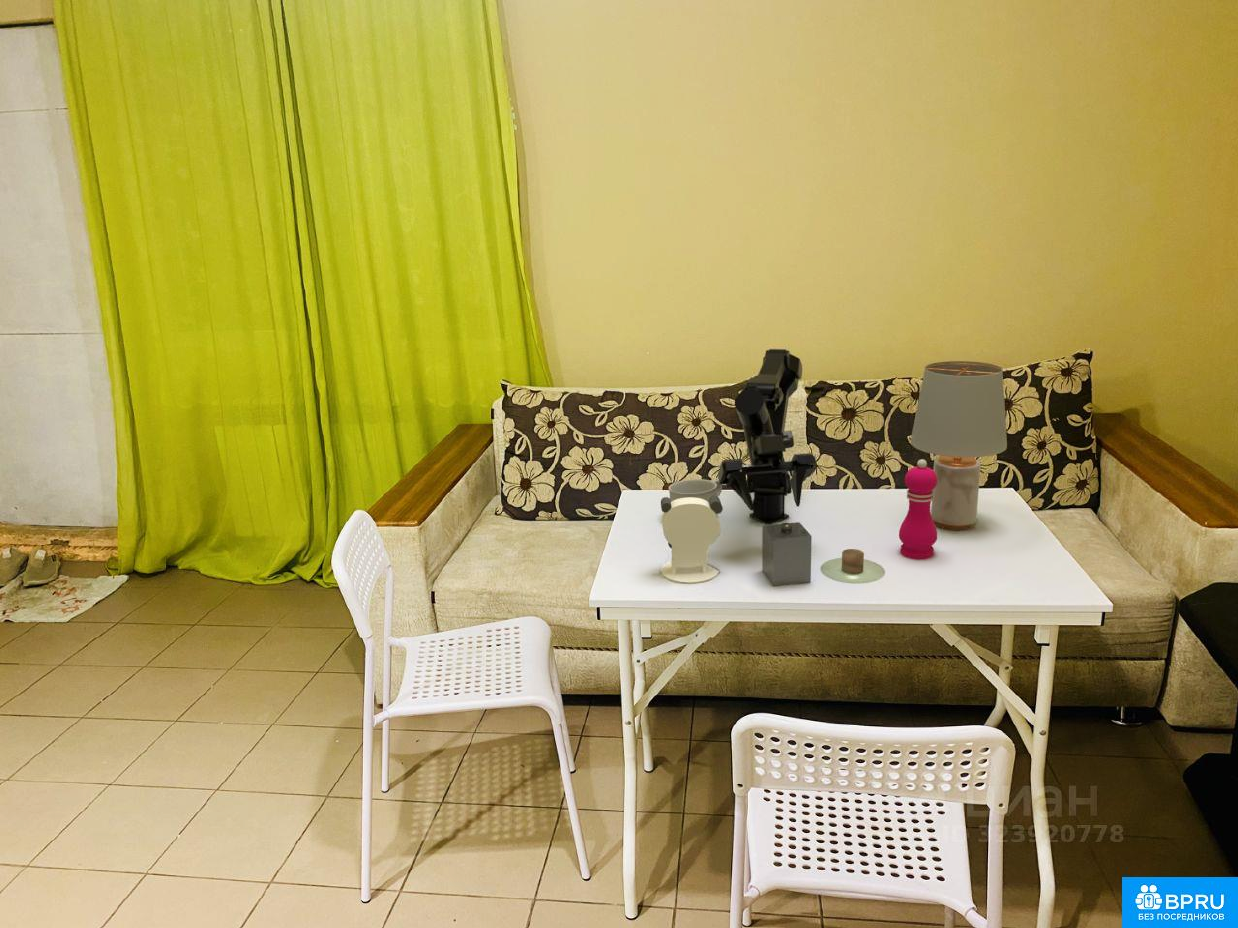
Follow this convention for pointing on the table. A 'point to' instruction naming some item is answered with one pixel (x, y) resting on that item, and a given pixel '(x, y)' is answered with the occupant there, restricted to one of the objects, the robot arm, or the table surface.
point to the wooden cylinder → (852, 561)
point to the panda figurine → (690, 538)
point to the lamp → (959, 433)
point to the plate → (868, 575)
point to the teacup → (695, 489)
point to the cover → (786, 554)
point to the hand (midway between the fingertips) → (775, 507)
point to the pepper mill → (919, 513)
